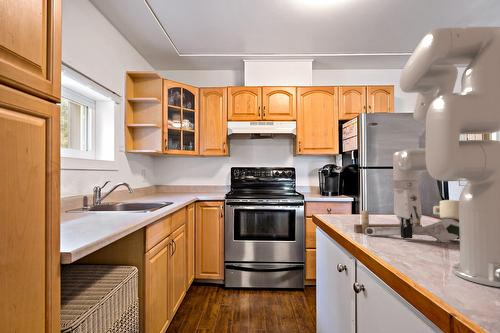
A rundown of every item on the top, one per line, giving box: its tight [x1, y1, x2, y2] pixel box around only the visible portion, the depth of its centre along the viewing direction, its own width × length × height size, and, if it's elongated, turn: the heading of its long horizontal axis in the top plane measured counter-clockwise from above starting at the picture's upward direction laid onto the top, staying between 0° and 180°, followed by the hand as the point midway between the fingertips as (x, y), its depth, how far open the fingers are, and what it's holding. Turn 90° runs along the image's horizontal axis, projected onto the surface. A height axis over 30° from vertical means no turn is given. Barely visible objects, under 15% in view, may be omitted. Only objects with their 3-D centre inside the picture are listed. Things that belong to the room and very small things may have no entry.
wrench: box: [365, 219, 459, 244], centre depth 98 cm, size 8×2×30 cm
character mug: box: [432, 199, 460, 240], centre depth 96 cm, size 11×7×13 cm, turn 53°
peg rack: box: [353, 210, 423, 236], centre depth 109 cm, size 5×26×9 cm, turn 89°
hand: (406, 237), depth 96 cm, fingers closed
